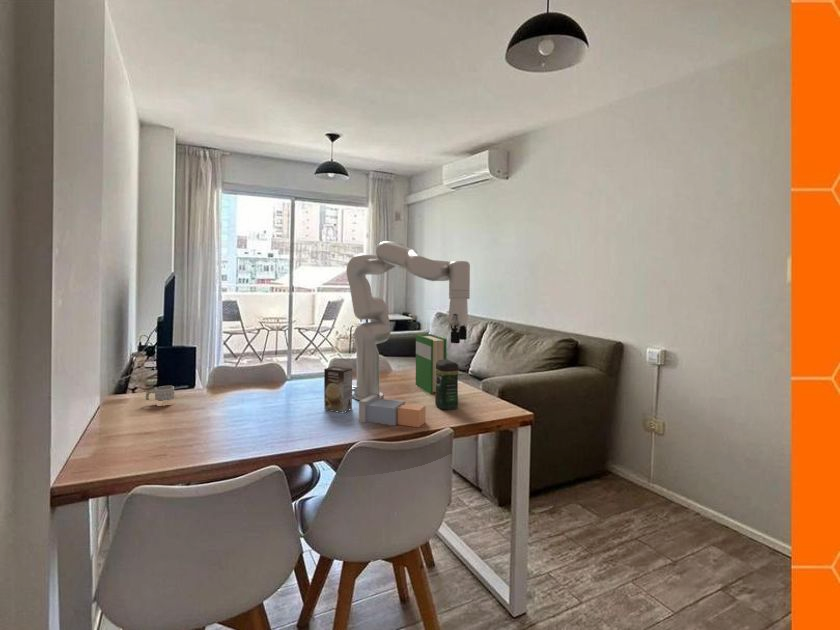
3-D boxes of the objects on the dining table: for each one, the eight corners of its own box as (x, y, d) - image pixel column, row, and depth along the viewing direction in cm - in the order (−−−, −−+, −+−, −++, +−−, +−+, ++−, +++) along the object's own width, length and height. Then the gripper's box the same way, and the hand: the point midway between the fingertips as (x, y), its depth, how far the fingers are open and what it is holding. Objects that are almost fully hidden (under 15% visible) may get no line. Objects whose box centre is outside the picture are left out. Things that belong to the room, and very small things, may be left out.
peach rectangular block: (397, 424, 158) (397, 407, 157) (404, 419, 163) (404, 402, 163) (418, 427, 155) (419, 410, 154) (425, 422, 160) (425, 405, 160)
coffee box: (323, 410, 174) (322, 368, 172) (333, 405, 180) (333, 365, 178) (343, 413, 170) (343, 371, 169) (353, 408, 176) (352, 367, 174)
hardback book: (446, 392, 201) (446, 338, 199) (430, 394, 198) (431, 339, 196) (430, 383, 217) (430, 333, 215) (415, 385, 214) (416, 334, 212)
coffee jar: (461, 409, 176) (461, 361, 175) (442, 411, 173) (442, 363, 172) (450, 402, 185) (451, 357, 184) (432, 404, 182) (433, 358, 181)
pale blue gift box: (357, 421, 161) (357, 401, 160) (372, 412, 171) (372, 393, 170) (393, 426, 156) (393, 406, 155) (406, 417, 166) (406, 398, 165)
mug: (176, 401, 184) (175, 385, 184) (173, 405, 178) (172, 389, 178) (148, 403, 181) (147, 387, 181) (143, 408, 175) (143, 391, 174)
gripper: (455, 293, 176) (455, 337, 178) (442, 295, 160) (442, 344, 161) (474, 294, 174) (474, 338, 175) (463, 296, 157) (462, 345, 159)
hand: (458, 341), depth 168 cm, fingers open, 9 cm apart
